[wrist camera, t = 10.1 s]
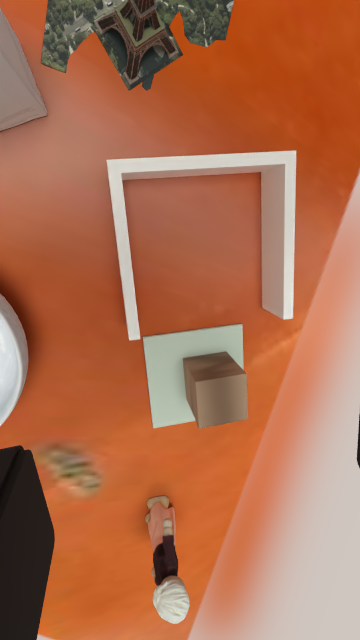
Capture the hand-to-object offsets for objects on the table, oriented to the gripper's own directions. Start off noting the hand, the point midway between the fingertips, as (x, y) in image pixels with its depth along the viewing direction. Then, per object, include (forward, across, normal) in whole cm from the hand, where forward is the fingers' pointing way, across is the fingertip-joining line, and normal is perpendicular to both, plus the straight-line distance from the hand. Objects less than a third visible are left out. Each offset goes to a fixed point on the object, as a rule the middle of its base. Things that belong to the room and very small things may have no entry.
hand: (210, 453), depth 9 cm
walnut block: (+26, -6, +11) cm, 29 cm away
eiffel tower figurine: (+28, -3, -21) cm, 35 cm away
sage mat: (+27, -5, +12) cm, 29 cm away
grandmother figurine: (+27, +2, +28) cm, 39 cm away
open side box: (+27, -6, -2) cm, 28 cm away
